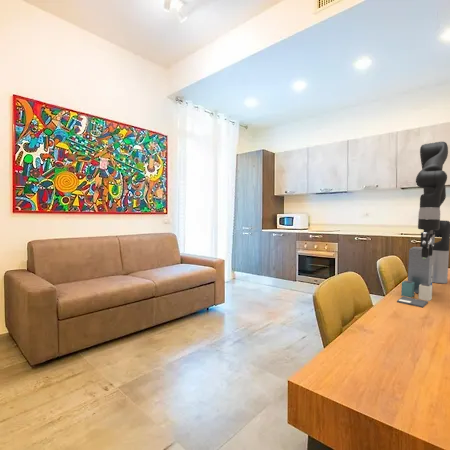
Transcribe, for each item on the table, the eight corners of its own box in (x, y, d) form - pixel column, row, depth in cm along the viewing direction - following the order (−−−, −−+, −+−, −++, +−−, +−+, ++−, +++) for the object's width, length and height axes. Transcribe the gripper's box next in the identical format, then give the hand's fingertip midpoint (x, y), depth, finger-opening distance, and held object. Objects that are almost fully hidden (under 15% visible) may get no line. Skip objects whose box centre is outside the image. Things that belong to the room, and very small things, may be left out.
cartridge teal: (403, 293, 131) (404, 279, 130) (413, 295, 128) (414, 281, 127) (401, 295, 128) (401, 281, 127) (411, 297, 125) (412, 283, 125)
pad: (402, 297, 124) (402, 296, 124) (427, 302, 118) (428, 301, 118) (396, 302, 118) (396, 300, 118) (422, 307, 112) (423, 305, 112)
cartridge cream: (420, 297, 126) (421, 282, 126) (431, 299, 123) (432, 284, 123) (418, 298, 123) (419, 284, 123) (429, 301, 120) (430, 286, 120)
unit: (410, 289, 139) (412, 246, 138) (430, 292, 134) (433, 248, 133) (407, 291, 135) (409, 247, 134) (427, 295, 129) (430, 249, 128)
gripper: (422, 218, 129) (420, 254, 130) (414, 218, 119) (412, 256, 120) (443, 218, 124) (440, 256, 125) (436, 218, 114) (434, 259, 115)
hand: (426, 256), depth 122 cm, fingers open, 8 cm apart
